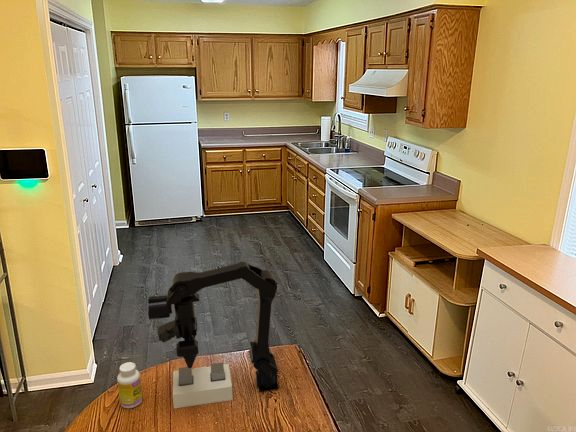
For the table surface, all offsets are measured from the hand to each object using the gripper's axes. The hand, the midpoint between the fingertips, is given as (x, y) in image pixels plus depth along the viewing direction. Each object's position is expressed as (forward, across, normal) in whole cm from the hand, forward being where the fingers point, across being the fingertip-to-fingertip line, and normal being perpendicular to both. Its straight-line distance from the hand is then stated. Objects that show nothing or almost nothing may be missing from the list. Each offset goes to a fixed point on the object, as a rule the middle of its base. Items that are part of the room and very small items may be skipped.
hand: (189, 358), depth 141 cm
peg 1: (+10, -1, -2) cm, 10 cm away
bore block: (+13, -1, +3) cm, 14 cm away
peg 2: (+10, -1, +8) cm, 13 cm away
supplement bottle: (+13, -1, -19) cm, 23 cm away
